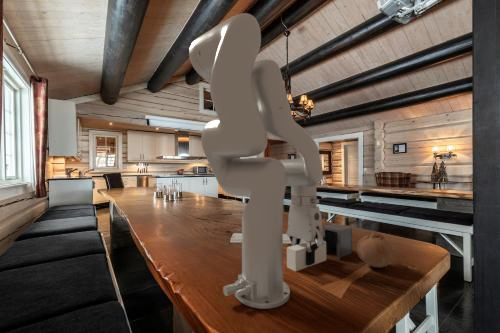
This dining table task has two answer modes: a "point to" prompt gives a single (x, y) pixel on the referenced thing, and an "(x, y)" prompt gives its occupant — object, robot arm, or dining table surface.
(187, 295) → the dining table surface
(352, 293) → the dining table surface
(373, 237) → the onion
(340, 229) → the end cap
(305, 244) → the rectangular block
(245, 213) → the robot arm
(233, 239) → the baseboard molding
